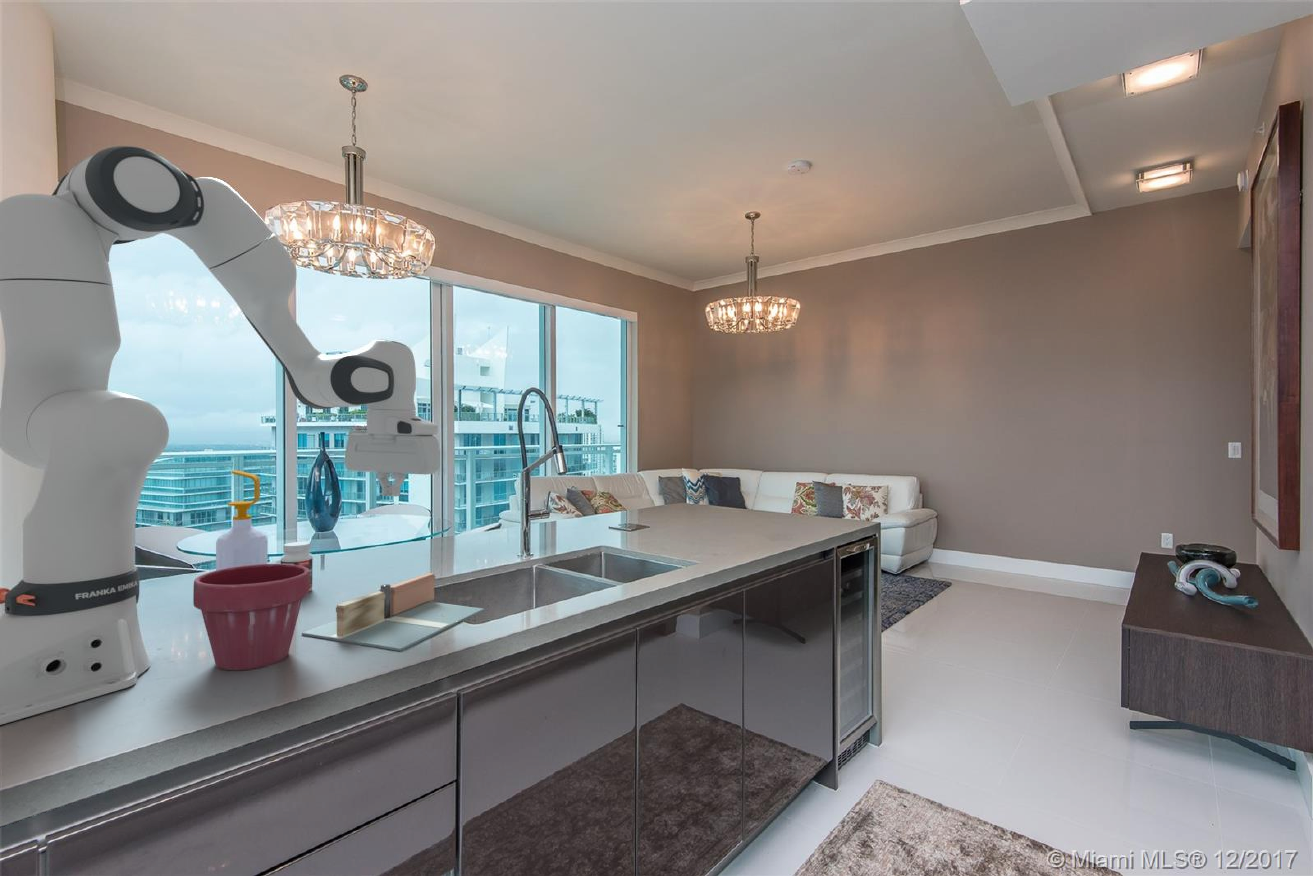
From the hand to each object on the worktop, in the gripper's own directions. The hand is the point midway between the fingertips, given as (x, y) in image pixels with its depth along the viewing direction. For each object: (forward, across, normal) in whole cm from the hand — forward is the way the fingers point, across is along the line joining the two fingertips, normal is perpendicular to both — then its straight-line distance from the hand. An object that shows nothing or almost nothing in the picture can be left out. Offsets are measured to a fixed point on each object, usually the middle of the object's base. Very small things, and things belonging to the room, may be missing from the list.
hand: (391, 495), depth 119 cm
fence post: (+21, +7, -9) cm, 24 cm away
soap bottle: (+21, -37, -2) cm, 43 cm away
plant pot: (+21, +2, -30) cm, 37 cm away
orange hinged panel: (+20, +7, -2) cm, 22 cm away
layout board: (+21, +10, -9) cm, 25 cm away
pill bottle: (+21, -23, -1) cm, 31 cm away
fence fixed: (+21, +7, -15) cm, 26 cm away
